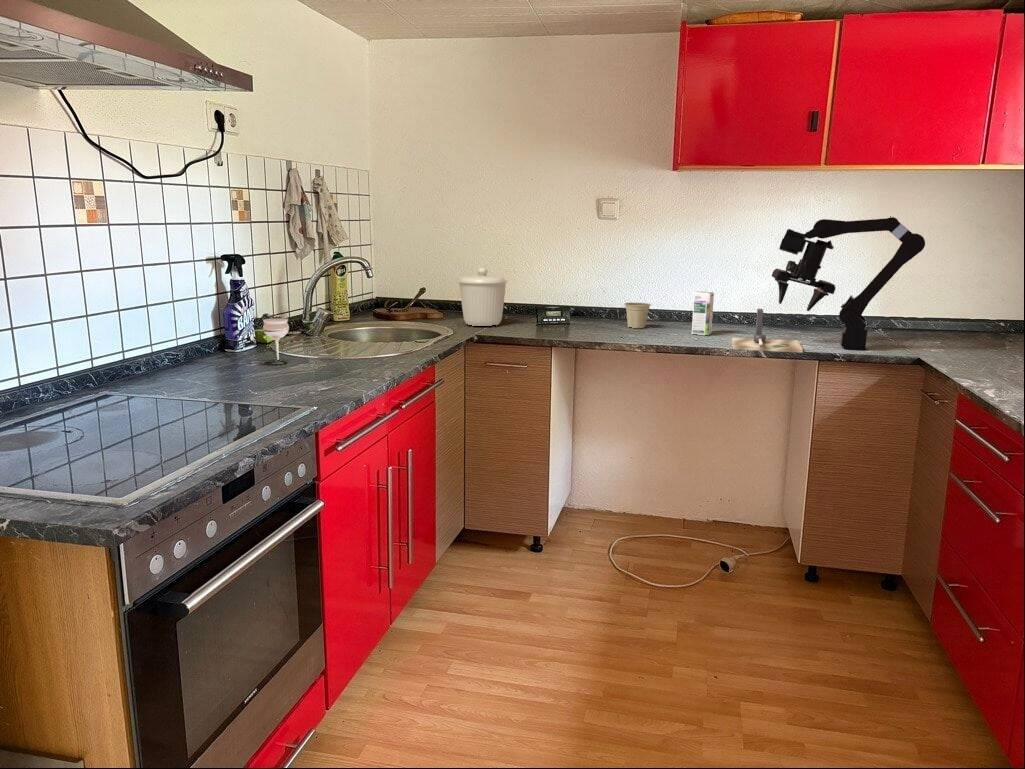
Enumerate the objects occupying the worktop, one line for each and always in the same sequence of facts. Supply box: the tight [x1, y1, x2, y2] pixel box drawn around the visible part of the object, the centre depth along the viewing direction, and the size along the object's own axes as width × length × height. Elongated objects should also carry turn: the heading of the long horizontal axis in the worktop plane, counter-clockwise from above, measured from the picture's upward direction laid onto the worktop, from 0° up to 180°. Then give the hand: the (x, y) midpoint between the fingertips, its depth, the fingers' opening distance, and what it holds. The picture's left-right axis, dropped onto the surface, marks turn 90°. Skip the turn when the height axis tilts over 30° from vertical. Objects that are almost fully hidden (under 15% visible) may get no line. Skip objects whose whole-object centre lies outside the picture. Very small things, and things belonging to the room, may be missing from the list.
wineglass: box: [262, 317, 290, 361], centre depth 209 cm, size 7×7×12 cm
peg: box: [753, 308, 767, 345], centre depth 241 cm, size 4×20×9 cm, turn 165°
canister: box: [457, 267, 508, 327], centre depth 280 cm, size 18×18×21 cm
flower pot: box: [624, 302, 652, 329], centre depth 277 cm, size 9×9×9 cm
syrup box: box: [691, 291, 715, 336], centre depth 262 cm, size 6×6×14 cm
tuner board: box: [731, 337, 804, 353], centre depth 240 cm, size 20×17×1 cm
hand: (793, 307), depth 243 cm, fingers open, 9 cm apart
